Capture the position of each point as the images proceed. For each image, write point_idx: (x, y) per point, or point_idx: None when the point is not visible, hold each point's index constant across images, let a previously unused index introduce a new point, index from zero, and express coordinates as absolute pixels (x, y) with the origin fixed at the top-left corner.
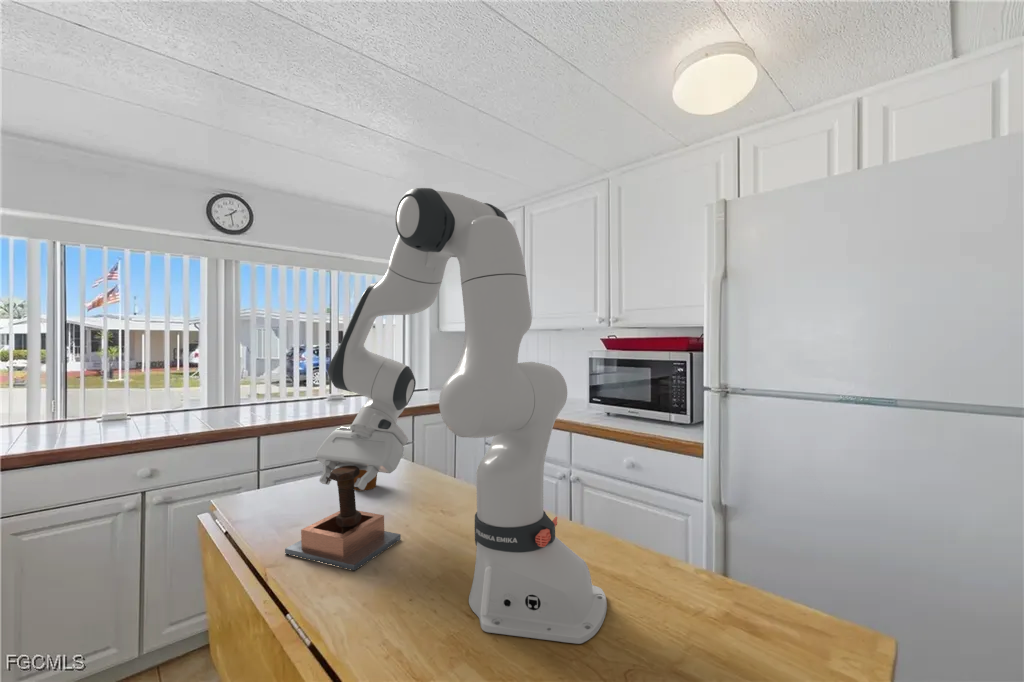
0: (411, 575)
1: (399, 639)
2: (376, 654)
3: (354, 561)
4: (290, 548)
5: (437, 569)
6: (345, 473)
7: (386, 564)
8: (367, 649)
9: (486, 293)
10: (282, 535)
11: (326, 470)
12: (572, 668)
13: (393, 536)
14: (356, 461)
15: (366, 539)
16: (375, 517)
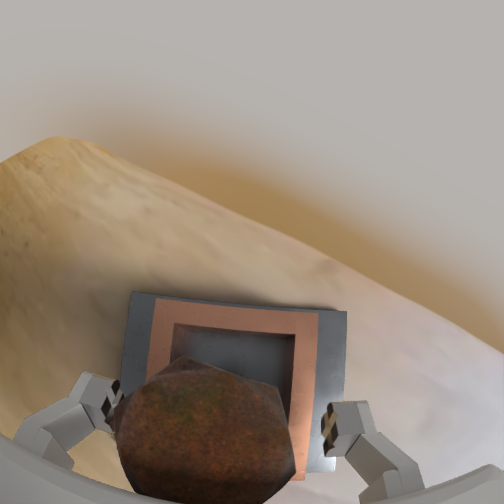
0: (39, 306)
1: (28, 178)
2: (44, 155)
3: (138, 305)
4: (335, 316)
5: (14, 333)
6: (143, 384)
7: (91, 335)
8: (52, 156)
9: None
10: (418, 378)
11: (373, 453)
12: None
13: None
14: (114, 492)
15: None
16: None
